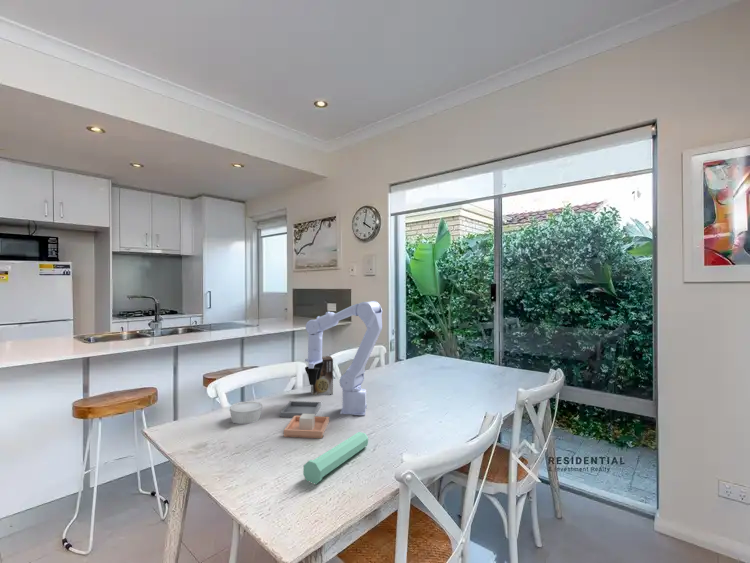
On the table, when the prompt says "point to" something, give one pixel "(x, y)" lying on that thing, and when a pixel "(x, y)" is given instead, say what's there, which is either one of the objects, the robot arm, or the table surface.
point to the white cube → (307, 422)
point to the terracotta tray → (317, 431)
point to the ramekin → (245, 412)
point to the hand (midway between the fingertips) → (314, 382)
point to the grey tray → (300, 408)
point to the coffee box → (324, 378)
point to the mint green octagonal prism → (334, 457)
